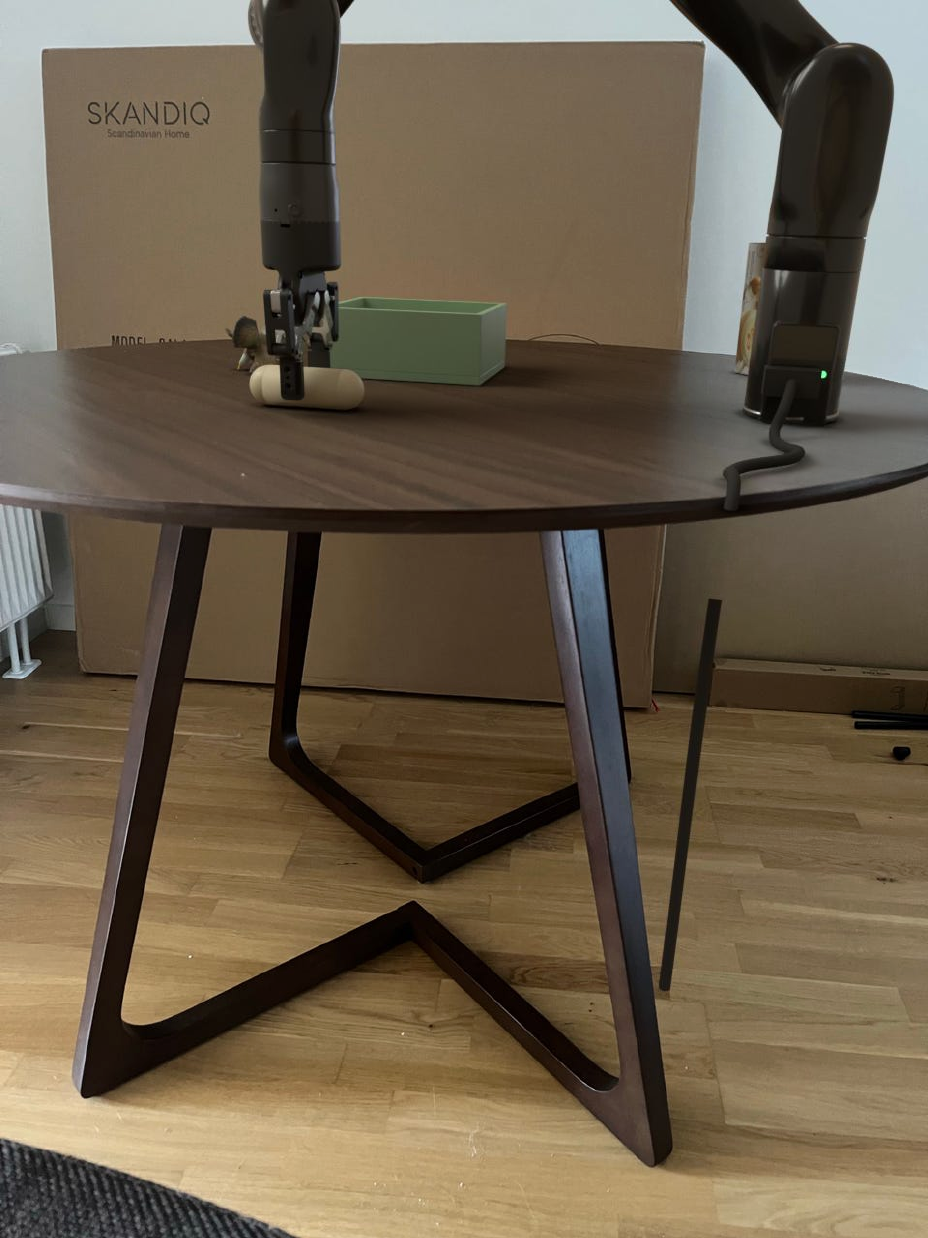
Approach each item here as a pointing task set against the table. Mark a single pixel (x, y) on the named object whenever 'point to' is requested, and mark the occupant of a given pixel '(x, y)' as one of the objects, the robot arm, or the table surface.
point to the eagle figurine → (251, 343)
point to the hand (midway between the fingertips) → (306, 392)
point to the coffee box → (749, 306)
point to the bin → (421, 340)
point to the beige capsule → (310, 388)
